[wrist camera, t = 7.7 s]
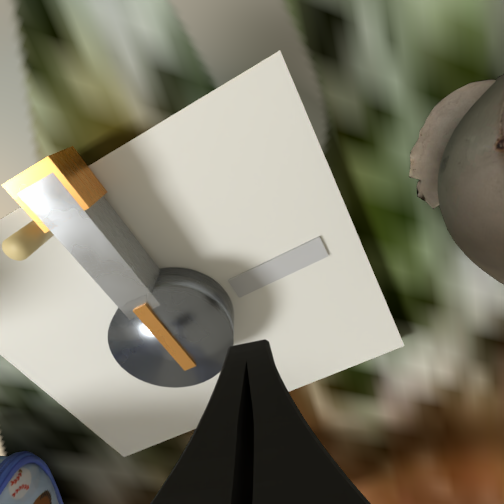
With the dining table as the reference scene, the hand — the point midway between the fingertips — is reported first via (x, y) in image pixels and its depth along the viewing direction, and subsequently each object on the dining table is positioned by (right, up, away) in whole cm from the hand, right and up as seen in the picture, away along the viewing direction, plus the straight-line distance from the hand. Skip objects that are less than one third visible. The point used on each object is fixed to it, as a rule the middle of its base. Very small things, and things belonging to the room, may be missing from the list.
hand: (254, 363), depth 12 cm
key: (-6, +3, +8) cm, 11 cm away
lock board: (-5, 0, +11) cm, 12 cm away
